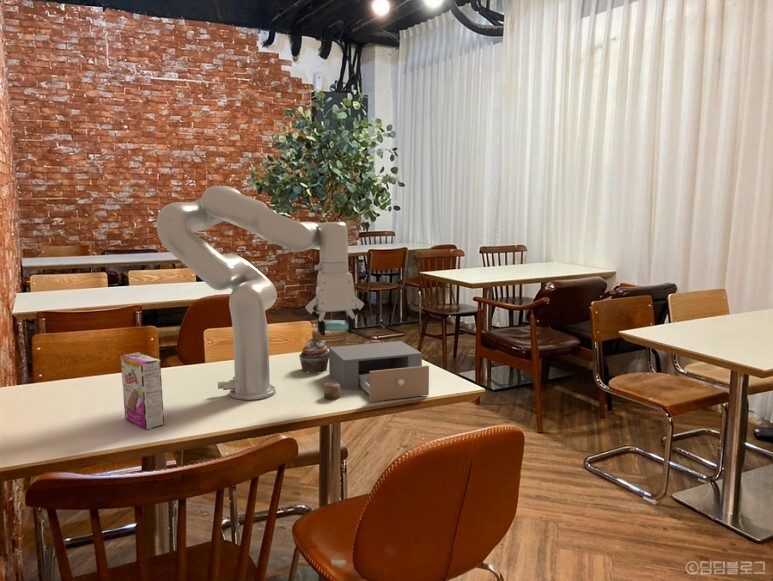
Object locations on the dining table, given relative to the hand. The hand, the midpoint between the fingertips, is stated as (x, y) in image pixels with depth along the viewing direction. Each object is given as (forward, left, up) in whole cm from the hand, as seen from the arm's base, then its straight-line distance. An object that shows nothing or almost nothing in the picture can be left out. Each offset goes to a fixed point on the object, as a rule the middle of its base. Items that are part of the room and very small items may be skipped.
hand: (336, 333), depth 164 cm
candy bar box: (-49, -3, -18) cm, 53 cm away
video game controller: (+24, +38, -18) cm, 49 cm away
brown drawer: (+16, 0, -18) cm, 24 cm away
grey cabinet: (+16, +13, -18) cm, 27 cm away
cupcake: (+1, +29, -18) cm, 34 cm away
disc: (0, 0, +1) cm, 1 cm away
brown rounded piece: (-1, 0, -18) cm, 18 cm away
